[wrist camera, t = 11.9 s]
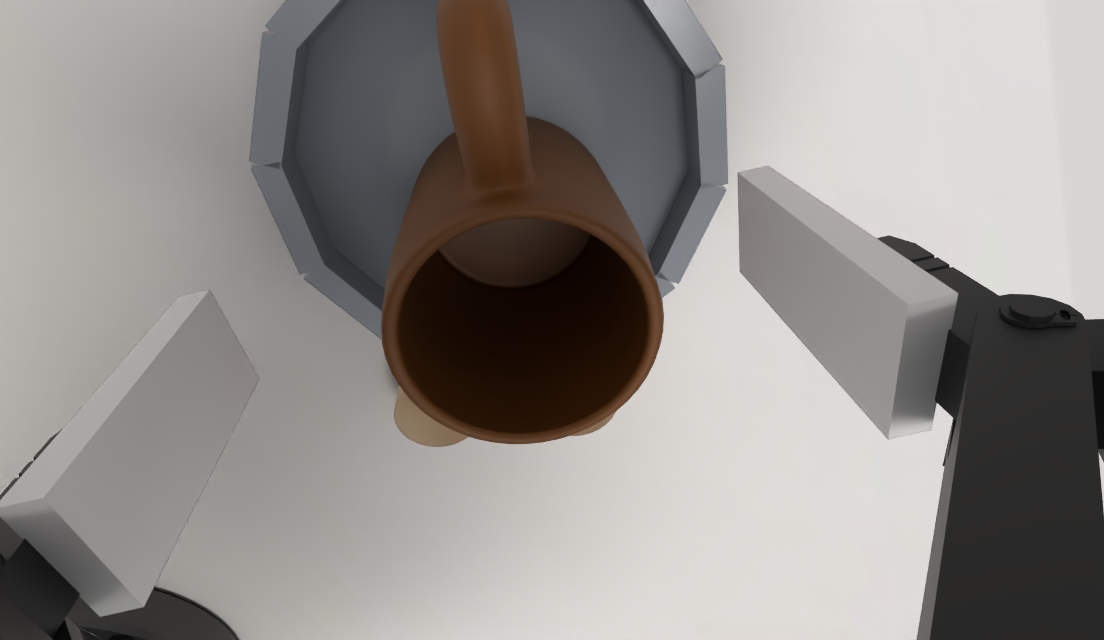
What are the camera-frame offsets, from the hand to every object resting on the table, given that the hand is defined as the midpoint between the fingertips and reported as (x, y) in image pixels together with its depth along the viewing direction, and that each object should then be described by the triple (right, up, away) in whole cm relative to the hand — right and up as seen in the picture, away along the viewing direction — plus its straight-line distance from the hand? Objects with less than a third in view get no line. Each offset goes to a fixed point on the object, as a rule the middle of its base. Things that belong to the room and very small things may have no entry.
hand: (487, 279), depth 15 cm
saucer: (0, +5, +8) cm, 10 cm away
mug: (0, +5, +7) cm, 9 cm away
